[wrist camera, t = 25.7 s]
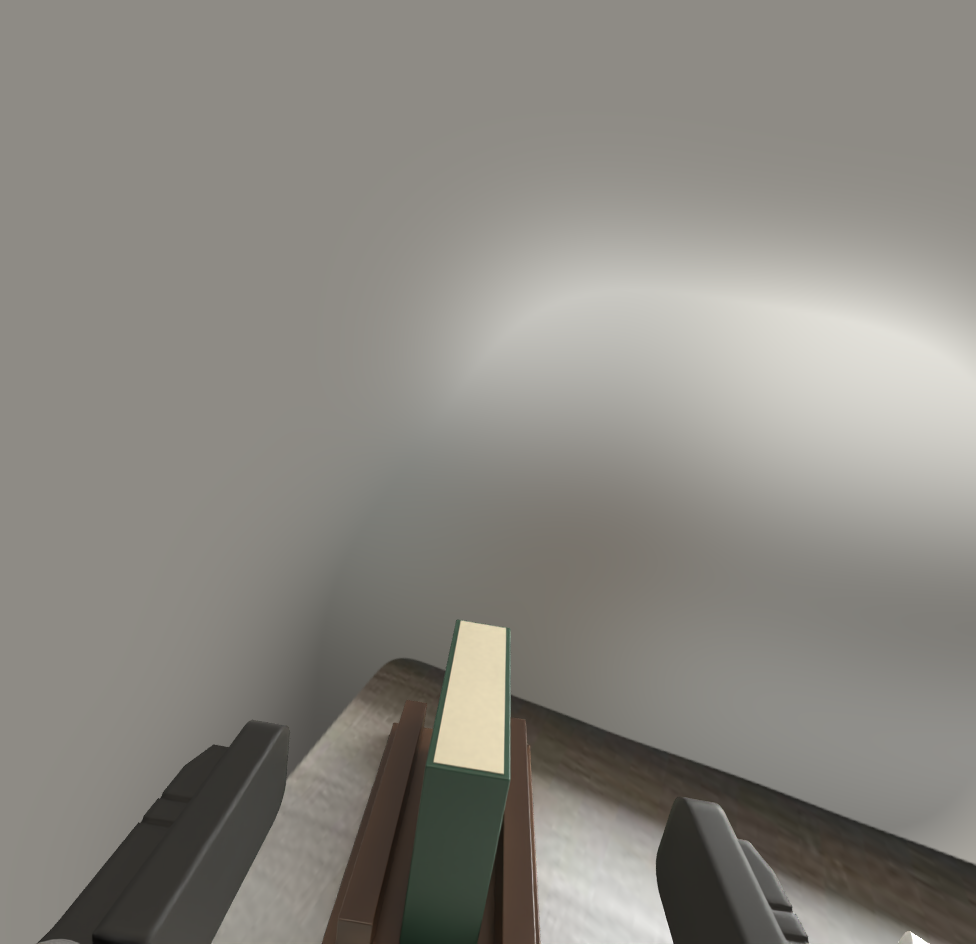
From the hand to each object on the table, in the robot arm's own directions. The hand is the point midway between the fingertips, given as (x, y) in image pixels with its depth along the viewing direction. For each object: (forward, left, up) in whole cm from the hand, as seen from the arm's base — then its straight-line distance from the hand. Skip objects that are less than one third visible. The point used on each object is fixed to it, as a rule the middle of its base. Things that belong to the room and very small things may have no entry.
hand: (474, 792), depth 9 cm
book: (0, +13, -18) cm, 22 cm away
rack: (0, +13, -19) cm, 23 cm away
